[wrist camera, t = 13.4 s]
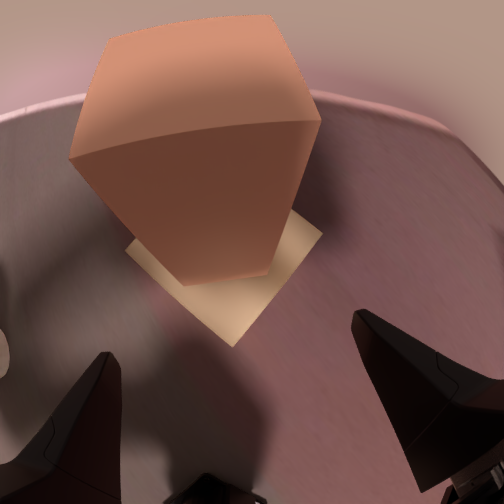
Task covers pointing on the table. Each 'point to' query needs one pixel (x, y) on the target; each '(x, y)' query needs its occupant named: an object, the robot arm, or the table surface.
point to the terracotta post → (199, 142)
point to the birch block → (235, 283)
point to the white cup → (3, 355)
